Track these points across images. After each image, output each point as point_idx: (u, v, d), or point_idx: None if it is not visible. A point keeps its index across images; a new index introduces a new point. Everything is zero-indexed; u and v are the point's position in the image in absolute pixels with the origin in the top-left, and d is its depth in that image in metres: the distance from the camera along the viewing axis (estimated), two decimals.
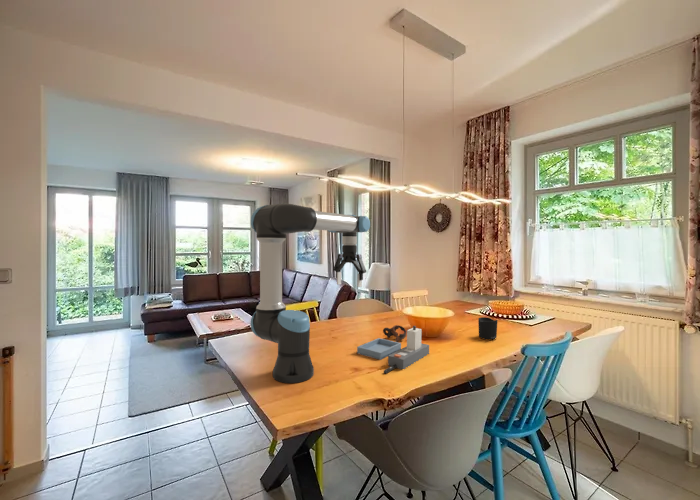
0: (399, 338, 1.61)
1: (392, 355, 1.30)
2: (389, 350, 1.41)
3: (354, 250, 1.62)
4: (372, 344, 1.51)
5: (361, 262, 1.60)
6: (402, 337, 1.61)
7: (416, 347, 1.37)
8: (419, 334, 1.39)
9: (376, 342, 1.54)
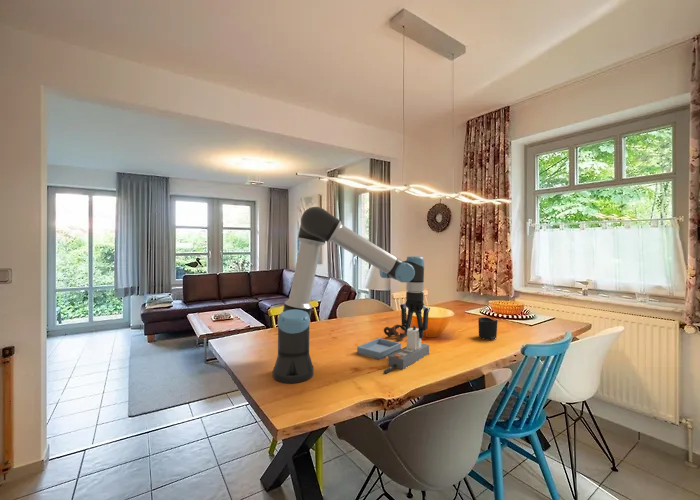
0: (400, 337, 1.62)
1: (392, 355, 1.30)
2: (389, 350, 1.41)
3: (422, 299, 1.37)
4: (372, 344, 1.51)
5: (426, 317, 1.36)
6: (403, 336, 1.63)
7: (416, 347, 1.37)
8: None
9: (376, 342, 1.54)
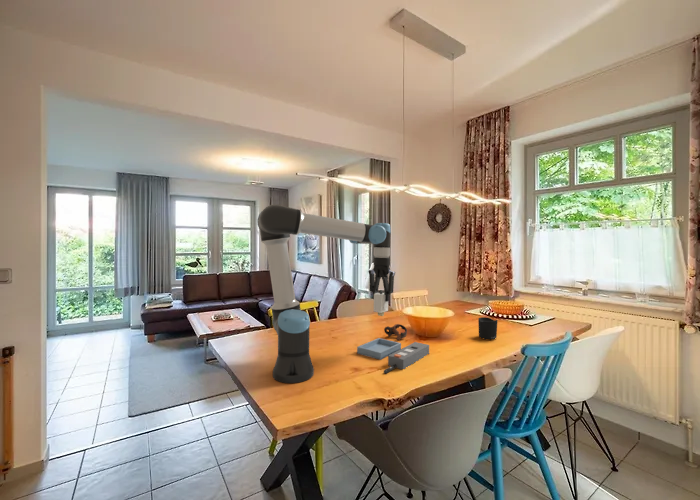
0: (400, 337, 1.63)
1: (392, 355, 1.30)
2: (389, 350, 1.41)
3: (387, 263, 1.43)
4: (372, 344, 1.51)
5: (392, 281, 1.42)
6: (403, 336, 1.64)
7: (382, 310, 1.43)
8: None
9: (376, 342, 1.54)
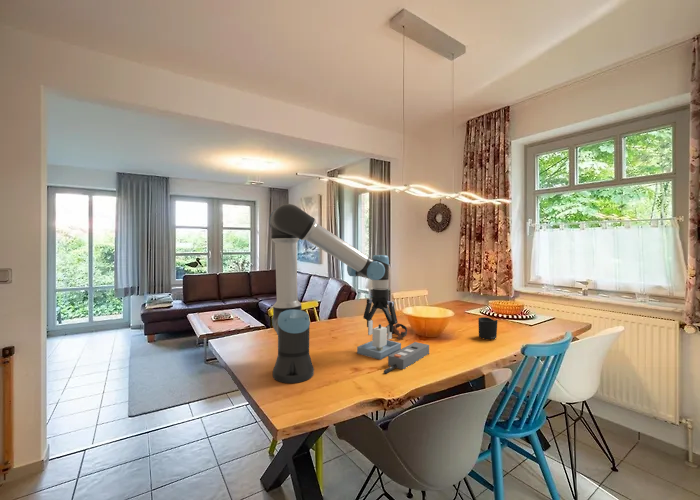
0: (401, 336, 1.64)
1: (392, 355, 1.30)
2: (389, 350, 1.41)
3: (386, 295, 1.43)
4: None
5: (393, 311, 1.41)
6: (403, 335, 1.65)
7: (381, 345, 1.44)
8: (384, 332, 1.46)
9: None
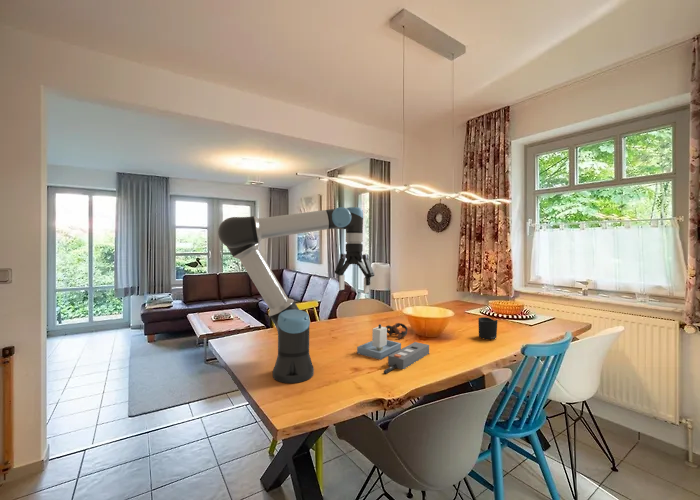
0: (401, 335, 1.66)
1: (392, 355, 1.30)
2: (389, 350, 1.41)
3: (360, 249, 1.36)
4: None
5: (368, 264, 1.34)
6: (404, 334, 1.66)
7: (381, 345, 1.44)
8: (384, 332, 1.46)
9: None
